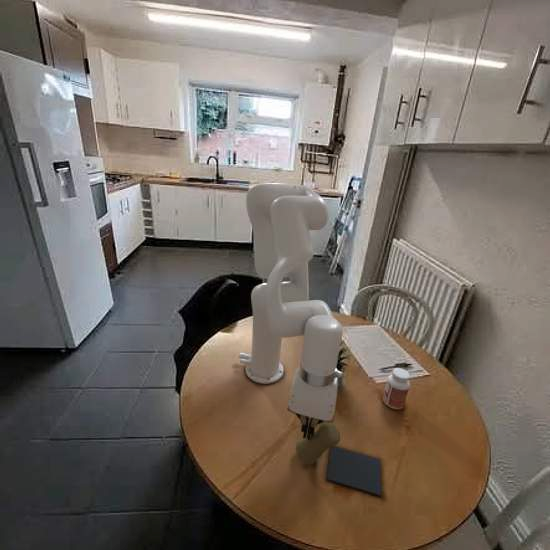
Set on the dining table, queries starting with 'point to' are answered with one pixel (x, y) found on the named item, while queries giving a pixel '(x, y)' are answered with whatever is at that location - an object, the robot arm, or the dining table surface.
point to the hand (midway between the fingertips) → (307, 433)
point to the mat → (354, 470)
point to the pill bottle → (396, 388)
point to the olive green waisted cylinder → (317, 443)
